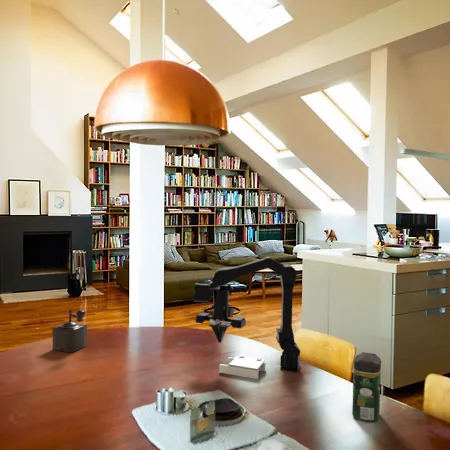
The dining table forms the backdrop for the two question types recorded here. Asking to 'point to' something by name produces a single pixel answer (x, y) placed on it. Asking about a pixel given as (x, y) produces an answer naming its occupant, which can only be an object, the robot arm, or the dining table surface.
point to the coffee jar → (366, 386)
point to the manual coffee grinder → (70, 334)
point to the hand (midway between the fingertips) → (220, 342)
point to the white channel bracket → (240, 370)
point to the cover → (247, 362)
